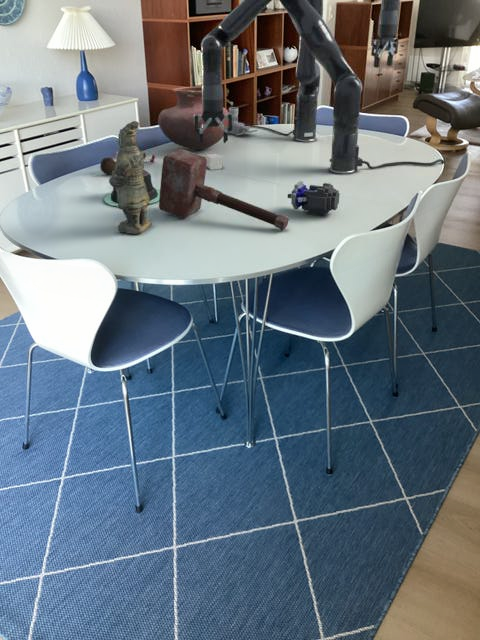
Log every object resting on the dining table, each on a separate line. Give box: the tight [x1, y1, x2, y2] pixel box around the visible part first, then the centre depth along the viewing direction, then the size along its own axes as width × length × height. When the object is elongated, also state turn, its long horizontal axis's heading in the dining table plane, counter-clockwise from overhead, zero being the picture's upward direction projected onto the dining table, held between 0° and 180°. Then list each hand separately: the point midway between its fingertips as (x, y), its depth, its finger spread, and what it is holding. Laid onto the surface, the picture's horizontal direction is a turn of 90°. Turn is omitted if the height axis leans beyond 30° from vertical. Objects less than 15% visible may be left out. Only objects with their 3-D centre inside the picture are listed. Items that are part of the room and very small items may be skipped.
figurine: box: [100, 149, 156, 176], centre depth 217 cm, size 13×8×25 cm
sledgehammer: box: [158, 148, 290, 231], centre depth 163 cm, size 17×10×40 cm
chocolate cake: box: [103, 168, 160, 207], centre depth 186 cm, size 15×19×20 cm
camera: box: [228, 106, 259, 136], centre depth 264 cm, size 9×12×15 cm
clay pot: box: [157, 86, 229, 151], centre depth 238 cm, size 30×30×25 cm
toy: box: [287, 180, 341, 216], centre depth 168 cm, size 9×9×15 cm
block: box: [206, 153, 223, 171], centre depth 217 cm, size 5×5×5 cm
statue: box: [108, 120, 153, 235], centre depth 154 cm, size 11×9×30 cm
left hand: (382, 66), depth 233 cm, fingers open, 8 cm apart
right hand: (213, 143), depth 209 cm, fingers open, 8 cm apart
